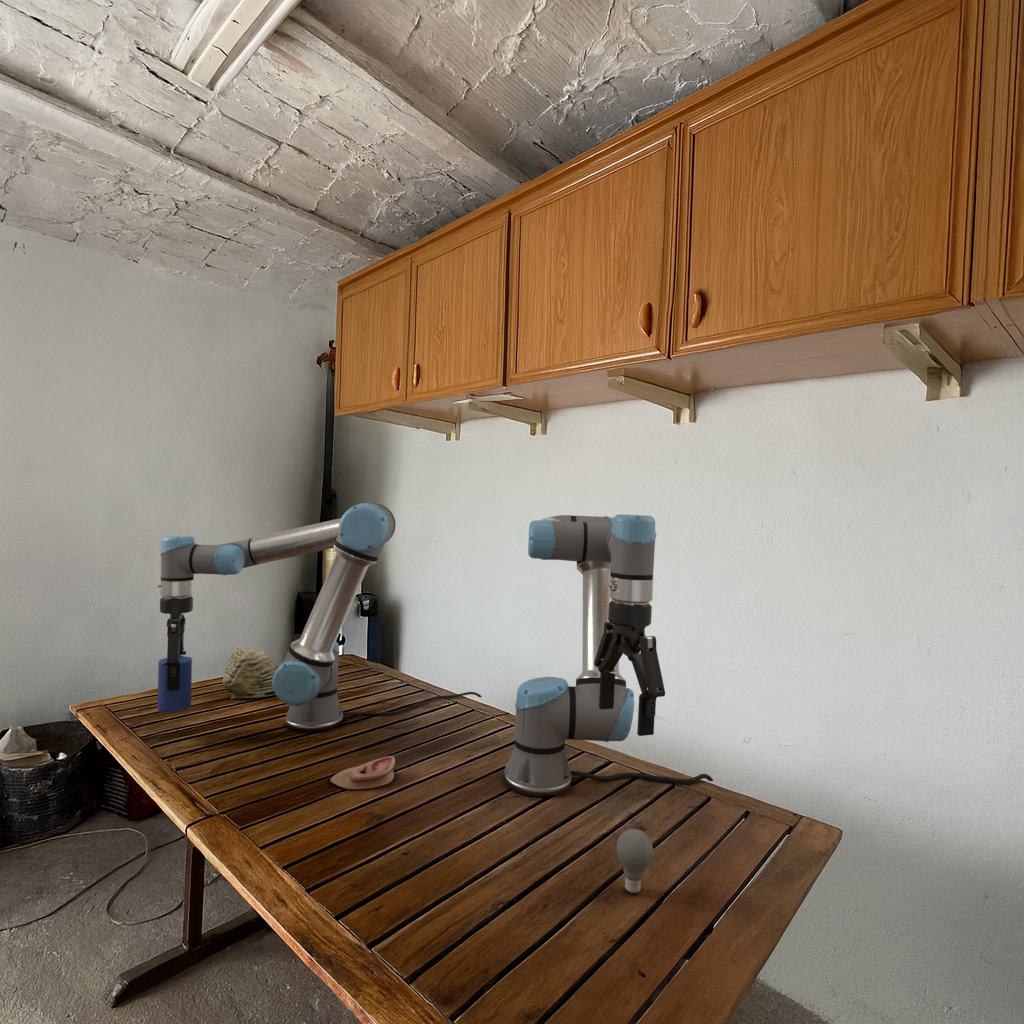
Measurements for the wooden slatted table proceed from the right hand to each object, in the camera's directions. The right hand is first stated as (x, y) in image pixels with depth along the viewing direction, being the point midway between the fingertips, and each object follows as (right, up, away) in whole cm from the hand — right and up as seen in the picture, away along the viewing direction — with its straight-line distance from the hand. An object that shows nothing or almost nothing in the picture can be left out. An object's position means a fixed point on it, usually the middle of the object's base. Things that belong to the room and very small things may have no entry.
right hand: (624, 721), depth 112 cm
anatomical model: (-54, -23, +30) cm, 66 cm away
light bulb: (0, -26, -7) cm, 27 cm away
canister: (-107, -13, +50) cm, 118 cm away
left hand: (-106, -7, +50) cm, 118 cm away
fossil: (-101, -20, +86) cm, 134 cm away
